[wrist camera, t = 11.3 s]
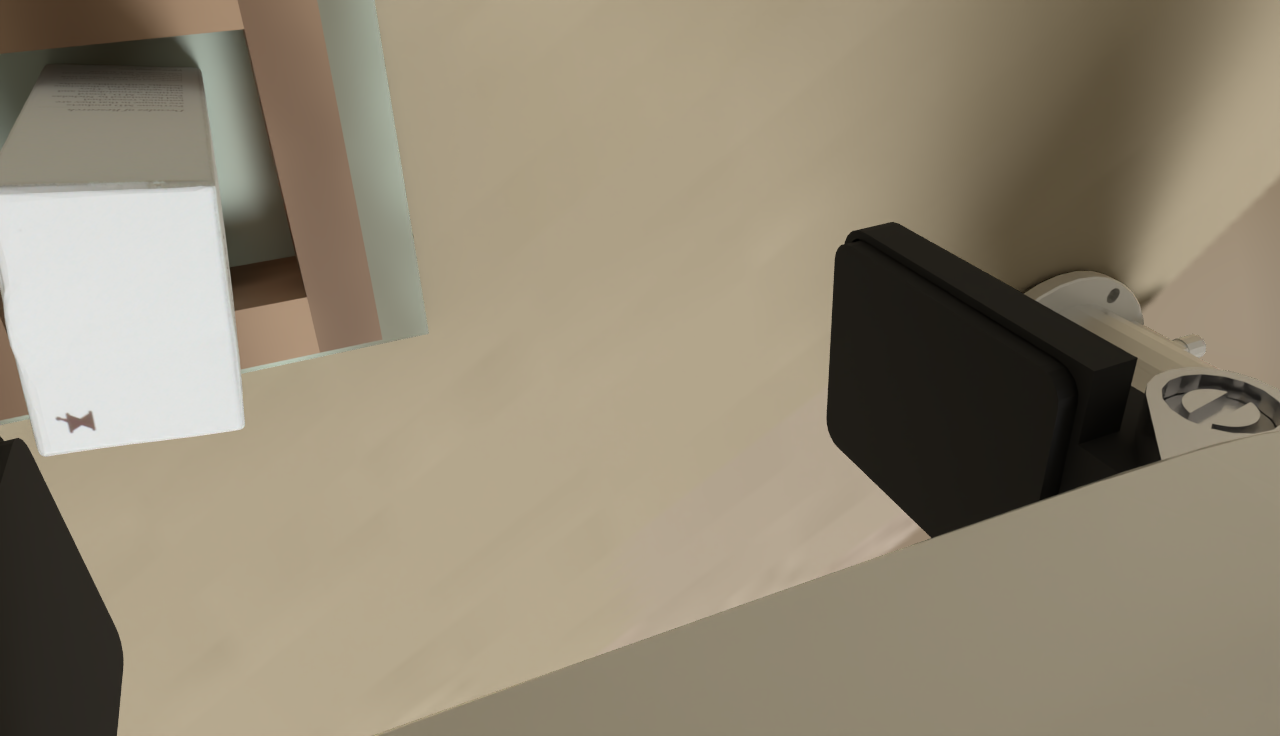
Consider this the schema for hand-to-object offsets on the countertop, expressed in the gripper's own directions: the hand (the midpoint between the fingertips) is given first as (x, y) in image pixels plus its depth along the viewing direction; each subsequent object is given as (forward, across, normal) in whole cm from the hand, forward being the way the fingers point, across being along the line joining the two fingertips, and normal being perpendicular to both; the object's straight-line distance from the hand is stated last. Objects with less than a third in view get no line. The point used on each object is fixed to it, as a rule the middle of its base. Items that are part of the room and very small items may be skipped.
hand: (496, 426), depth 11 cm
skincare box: (+23, +6, +2) cm, 24 cm away
